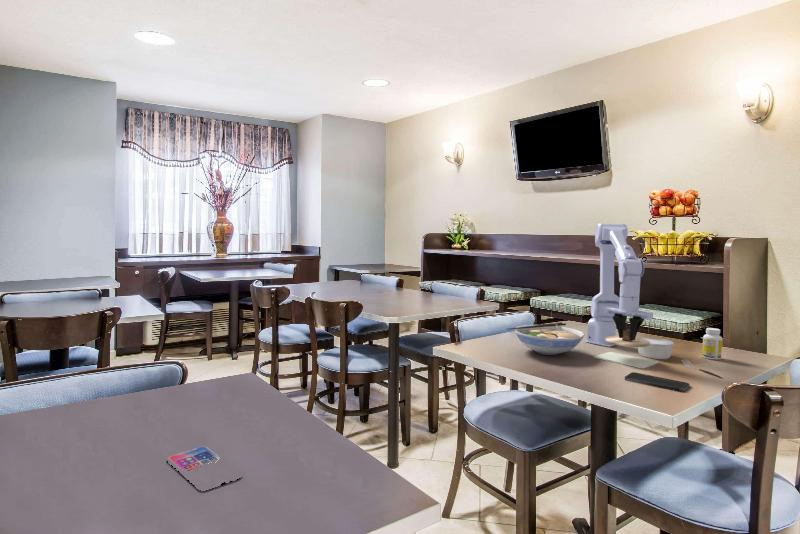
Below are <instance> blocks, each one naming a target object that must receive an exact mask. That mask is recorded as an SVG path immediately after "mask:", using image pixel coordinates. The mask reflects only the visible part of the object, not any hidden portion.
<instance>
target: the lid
mask: <svg viewBox="0 0 800 534" xmlns="http://www.w3.org/2000/svg"><path fill="white" fill-rule="evenodd" d="M605 340H606V342H608V343H611V344H614V346H620V347H626V348H627V347H629V348H638V347H646V346H649V345H650V342H649V341H648V340H645V339H642V337H638V336H636V338H635V340H630V329H625V330H623V334H622V338H619V335H616V336H609V337H606V339H605Z"/></svg>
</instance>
